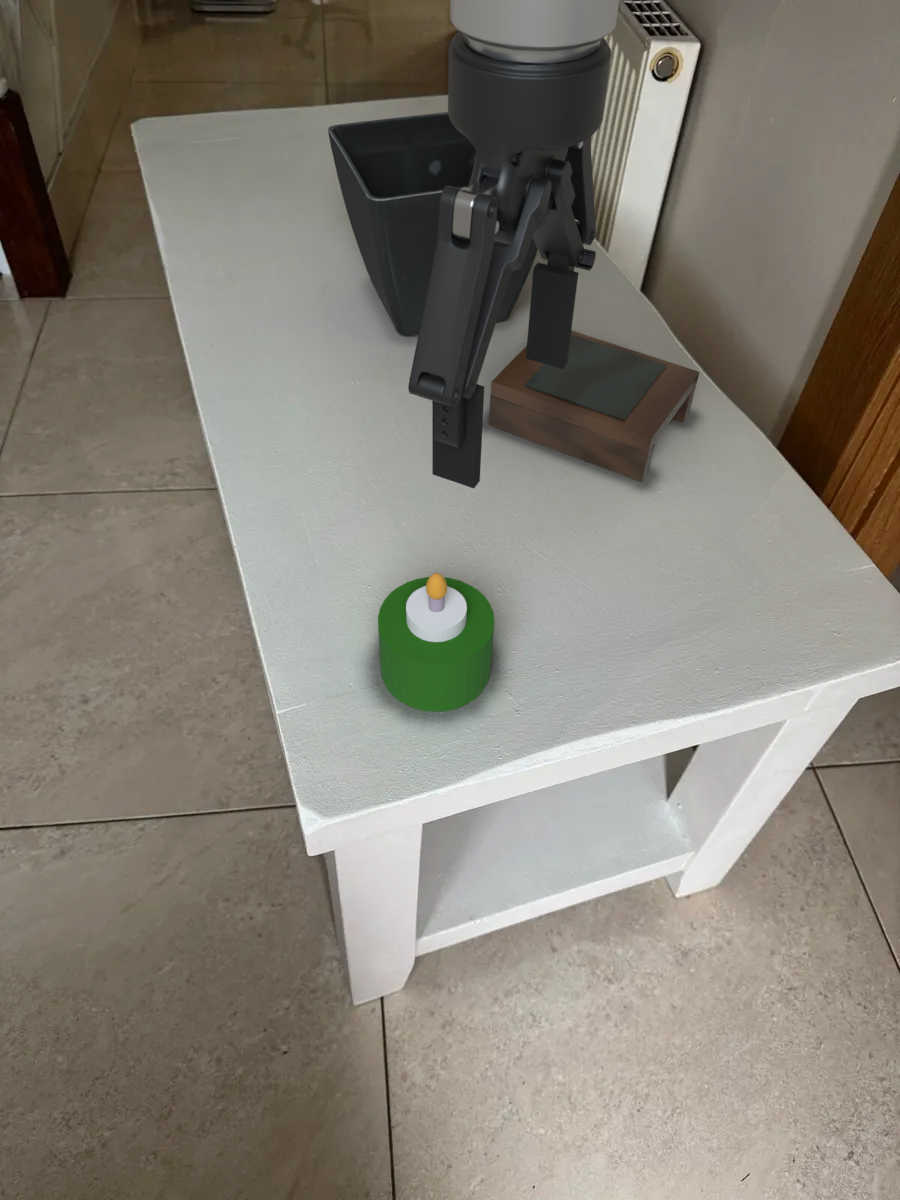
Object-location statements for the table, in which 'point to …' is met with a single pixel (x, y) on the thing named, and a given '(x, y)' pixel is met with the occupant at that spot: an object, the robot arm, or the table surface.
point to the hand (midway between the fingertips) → (504, 415)
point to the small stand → (594, 403)
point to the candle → (435, 643)
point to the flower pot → (405, 204)
